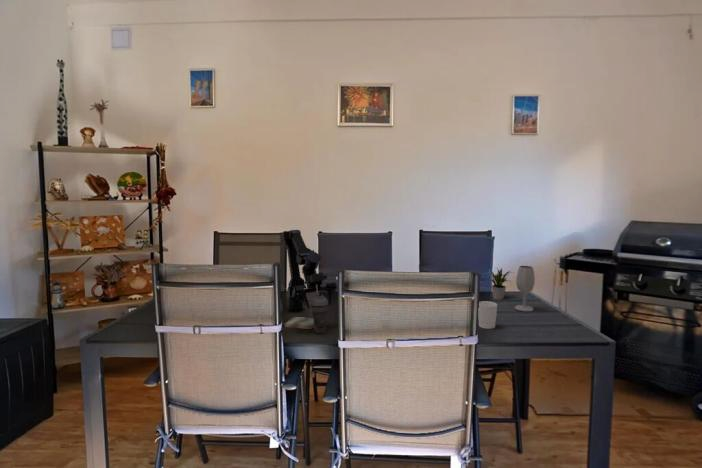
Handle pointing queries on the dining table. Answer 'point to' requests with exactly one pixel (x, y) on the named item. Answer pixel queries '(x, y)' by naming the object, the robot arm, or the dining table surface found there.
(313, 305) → the beverage cup
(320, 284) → the robot arm
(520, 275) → the wineglass
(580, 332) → the dining table surface
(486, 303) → the white cup
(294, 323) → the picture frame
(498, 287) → the house plant
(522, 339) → the dining table surface
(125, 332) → the dining table surface
